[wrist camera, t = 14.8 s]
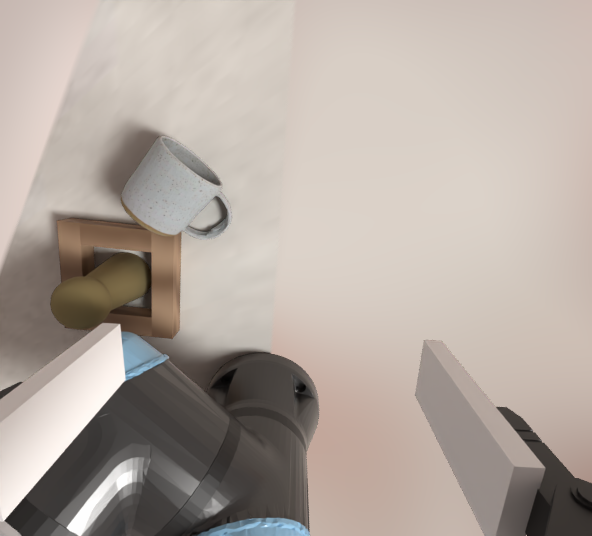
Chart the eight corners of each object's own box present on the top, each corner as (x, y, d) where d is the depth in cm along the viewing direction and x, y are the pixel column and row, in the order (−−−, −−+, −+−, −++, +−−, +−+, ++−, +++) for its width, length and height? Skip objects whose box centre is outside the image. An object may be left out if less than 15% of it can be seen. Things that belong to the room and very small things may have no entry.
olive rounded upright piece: (158, 295, 43) (111, 334, 33) (112, 302, 44) (51, 343, 33) (144, 248, 42) (91, 273, 31) (96, 256, 42) (27, 284, 32)
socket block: (179, 329, 44) (172, 338, 42) (77, 319, 44) (64, 327, 42) (181, 229, 41) (173, 232, 39) (71, 217, 41) (56, 220, 38)
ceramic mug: (134, 193, 40) (98, 198, 33) (176, 137, 38) (148, 129, 31) (207, 252, 42) (188, 270, 35) (250, 201, 40) (240, 208, 33)
